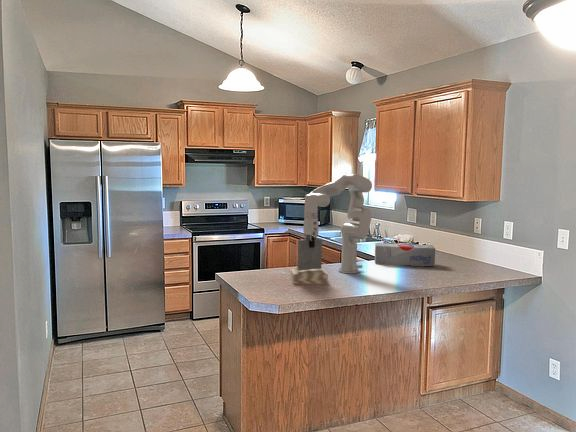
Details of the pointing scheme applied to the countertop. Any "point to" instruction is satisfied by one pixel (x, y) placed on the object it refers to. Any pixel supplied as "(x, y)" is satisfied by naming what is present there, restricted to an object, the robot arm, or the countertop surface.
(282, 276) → the countertop surface
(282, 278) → the countertop surface
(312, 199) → the robot arm
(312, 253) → the hip flask
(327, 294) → the countertop surface
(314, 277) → the chevron striped box
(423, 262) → the soda pack
